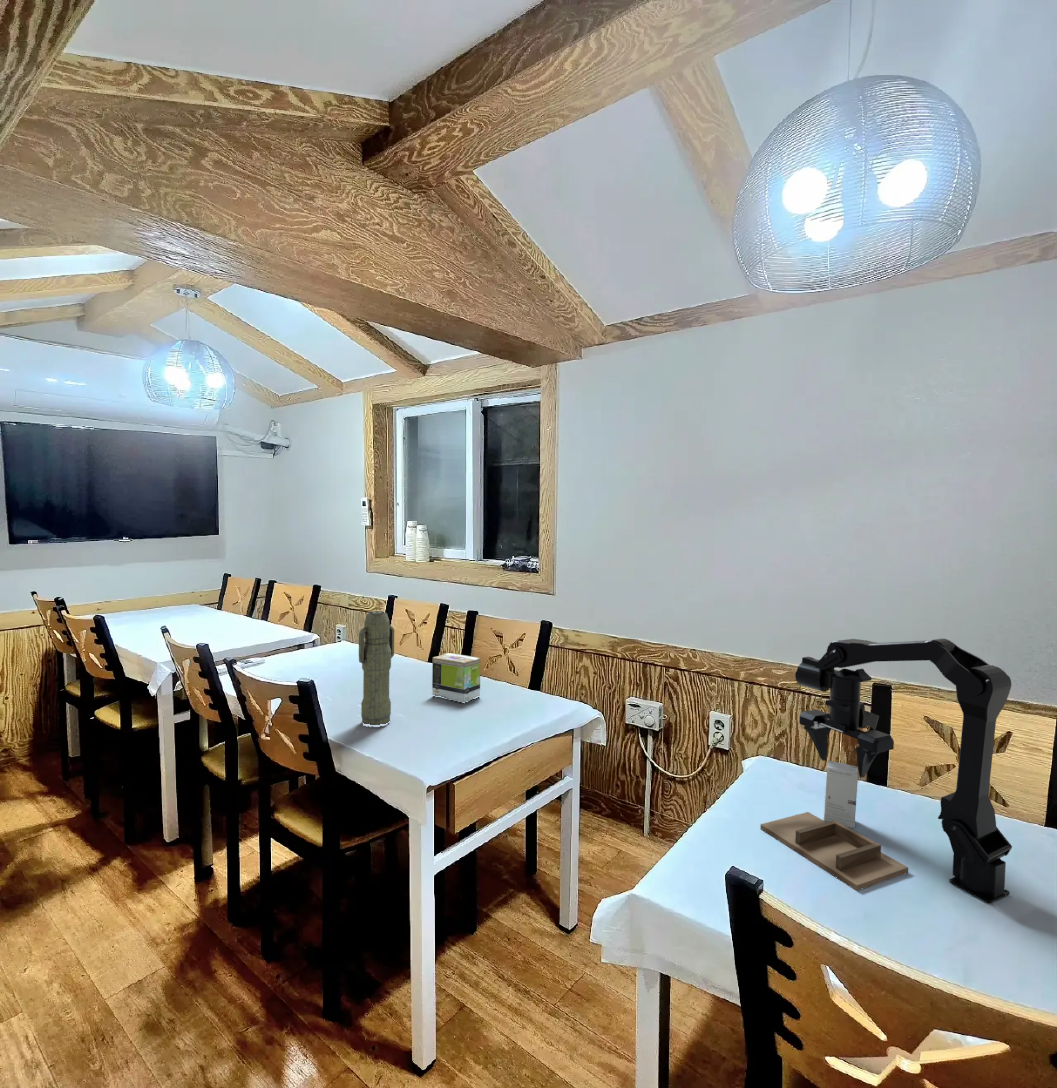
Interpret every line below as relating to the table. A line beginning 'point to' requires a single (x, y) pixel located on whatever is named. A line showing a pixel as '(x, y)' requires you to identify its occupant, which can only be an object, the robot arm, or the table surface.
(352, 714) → the table surface
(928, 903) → the table surface
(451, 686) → the tea box
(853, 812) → the skincare box
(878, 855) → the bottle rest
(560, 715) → the table surface
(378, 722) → the olive robed figurine
